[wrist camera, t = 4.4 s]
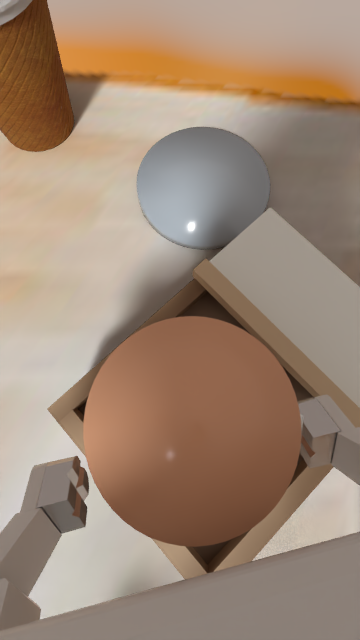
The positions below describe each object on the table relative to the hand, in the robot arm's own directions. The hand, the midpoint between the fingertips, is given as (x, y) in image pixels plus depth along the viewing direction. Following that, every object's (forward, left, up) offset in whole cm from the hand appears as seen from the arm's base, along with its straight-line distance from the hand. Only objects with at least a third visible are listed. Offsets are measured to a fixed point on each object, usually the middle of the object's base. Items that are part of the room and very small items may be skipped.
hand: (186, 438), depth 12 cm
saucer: (-12, +14, -11) cm, 21 cm away
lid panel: (+1, +10, -6) cm, 11 cm away
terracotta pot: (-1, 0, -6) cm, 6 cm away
